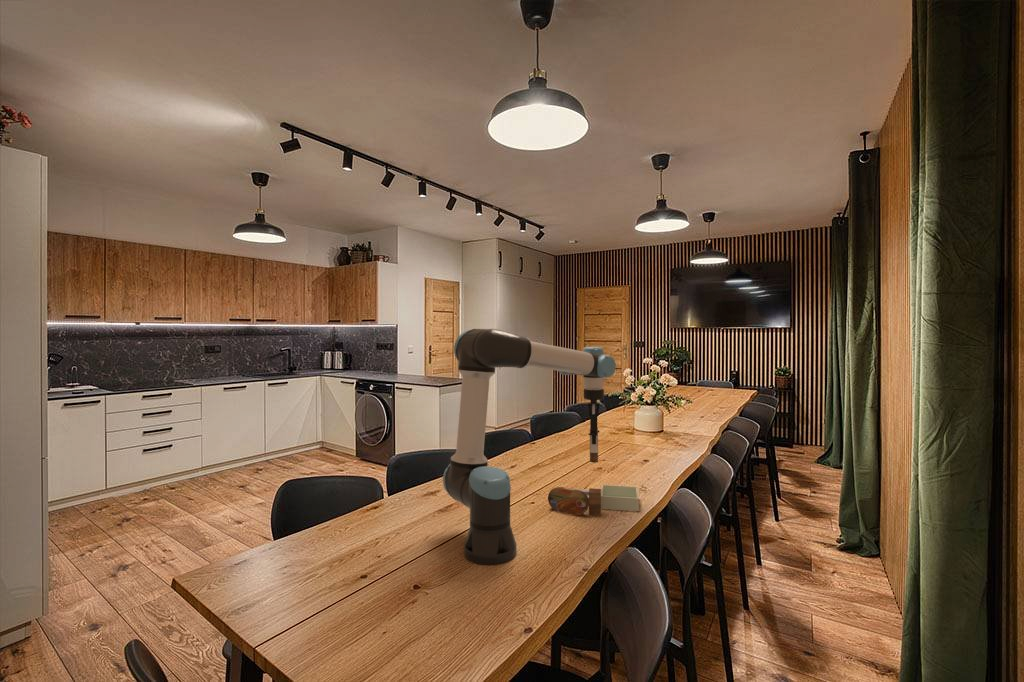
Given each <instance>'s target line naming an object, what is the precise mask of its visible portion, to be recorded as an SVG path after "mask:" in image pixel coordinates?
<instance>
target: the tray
mask: <svg viewBox="0 0 1024 682" xmlns="http://www.w3.org/2000/svg"><path fill="white" fill-rule="evenodd" d="M600 489H601V510H608V509H610V511H622V510H630V511H629V512H636V511H639V512H640V497H639V496H640V495H639V492H638V486H631V485H629V486H628V485H613V484H612V485H611V484H601V488H600Z"/></svg>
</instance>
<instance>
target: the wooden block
mask: <svg viewBox="0 0 1024 682" xmlns="http://www.w3.org/2000/svg"><path fill="white" fill-rule="evenodd" d="M588 490H589V507H588V515H589V516H599V517H600V516H601V515H602V509H601V488H592V487H591V488H590V487H589V489H588Z"/></svg>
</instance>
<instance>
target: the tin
mask: <svg viewBox="0 0 1024 682" xmlns="http://www.w3.org/2000/svg"><path fill="white" fill-rule="evenodd" d="M576 489H577V488H569V487H564V486H557V487H554V488H552V489H550V490H549V493H548V495H547V500H548V501H547V502H548V504H549V506H550V508H551V509H552V510H553V511H555V512H557V511H559V513H562V512H563V513H564V514H567V513H568V514H569V515H573V516H582V515H583V514H585V513H586V512H587V511H588V510H589V499H588V497H587V495H586V494H585V493H584V492H583V491H581V490H576Z"/></svg>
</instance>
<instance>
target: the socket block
mask: <svg viewBox="0 0 1024 682" xmlns="http://www.w3.org/2000/svg"><path fill="white" fill-rule="evenodd" d="M575 489H576V490H581V491H583V492H584V493H585V494H586V495H587V497H588V499H589V489H585V488H584V489H582V488H575Z"/></svg>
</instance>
